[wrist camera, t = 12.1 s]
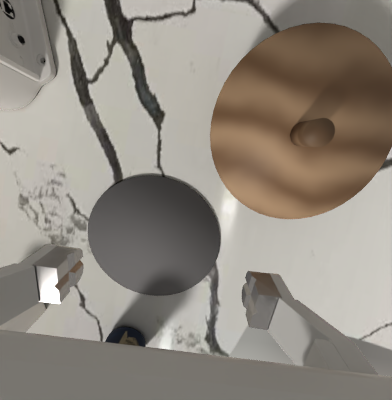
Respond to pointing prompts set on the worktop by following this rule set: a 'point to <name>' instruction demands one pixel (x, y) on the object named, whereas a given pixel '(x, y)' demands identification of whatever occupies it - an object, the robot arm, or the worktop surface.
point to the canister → (126, 337)
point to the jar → (24, 319)
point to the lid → (303, 121)
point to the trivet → (153, 235)
